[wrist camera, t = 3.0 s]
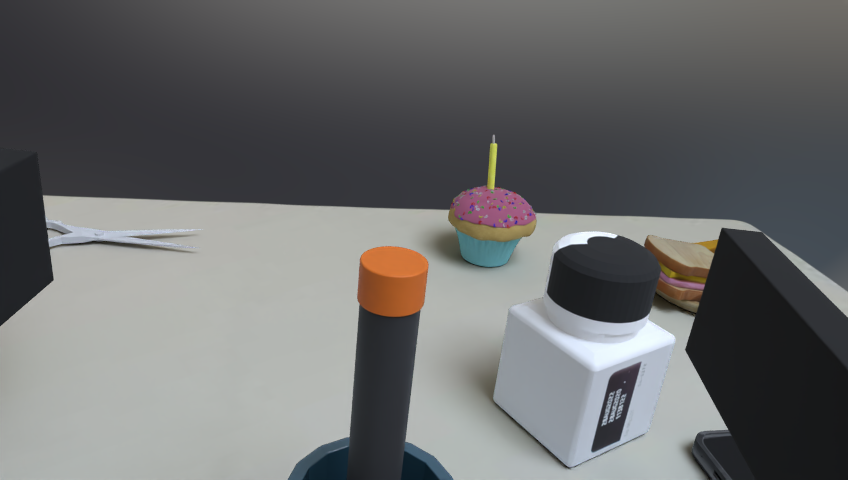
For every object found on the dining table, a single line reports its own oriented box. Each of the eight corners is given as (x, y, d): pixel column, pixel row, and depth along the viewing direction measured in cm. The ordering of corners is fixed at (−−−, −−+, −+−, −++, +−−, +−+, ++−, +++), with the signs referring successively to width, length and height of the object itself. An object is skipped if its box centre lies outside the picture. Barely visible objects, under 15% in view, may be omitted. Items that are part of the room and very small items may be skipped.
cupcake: (430, 242, 72) (443, 128, 67) (502, 236, 75) (520, 127, 70) (466, 281, 65) (484, 157, 60) (544, 272, 68) (567, 154, 63)
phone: (980, 507, 42) (762, 524, 39) (972, 521, 42) (756, 539, 39) (880, 421, 49) (688, 430, 46) (874, 434, 49) (684, 443, 46)
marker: (326, 629, 31) (351, 268, 24) (344, 585, 33) (371, 241, 26) (378, 644, 31) (420, 281, 23) (393, 598, 33) (434, 253, 25)
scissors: (-8, 207, 67) (210, 213, 70) (-7, 215, 67) (210, 220, 71) (-59, 257, 57) (196, 260, 61) (-57, 265, 57) (197, 268, 61)
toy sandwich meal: (800, 329, 63) (817, 283, 61) (654, 320, 62) (668, 272, 60) (737, 266, 74) (750, 225, 72) (613, 257, 73) (623, 215, 71)
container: (650, 433, 47) (701, 261, 42) (568, 471, 43) (614, 285, 38) (569, 372, 53) (605, 213, 47) (489, 401, 48) (519, 230, 43)
